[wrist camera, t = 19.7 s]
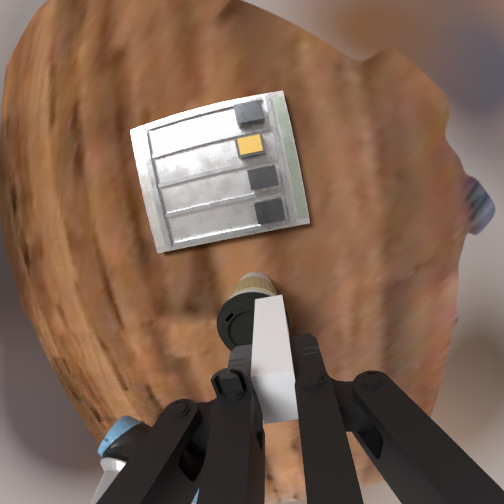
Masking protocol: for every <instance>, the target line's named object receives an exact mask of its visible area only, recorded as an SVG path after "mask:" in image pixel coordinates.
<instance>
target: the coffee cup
mask: <svg viewBox="0 0 504 504" xmlns="http://www.w3.org/2000/svg"><path fill="white" fill-rule="evenodd" d="M277 295H278V294H277V292H276V289H275V287H274V286H273V284H272V282H271V280H270V279H269V277H267V276H266V275H265V274H263V273H260V272H250V273H247V274H246V275H244V276H243V277H242V278H241V279H240V281H239V283H238V284H237V285H236V286H235V288H234V290H233V292H232V293H231V295H230V297H229V298H228V300H227V301H226V302H225V304H224V305H223V306H222V307H221V309H220V311H219V313H218V316H217V329H218V333H219V336H220V338H221V339H222V341H223V342H224V344H225V345H226V347H227V348H228V349H229V350H231V351H232V350H233V349H234V348H235V347H236V346H243V345H250V344H253V329H254V312H255V299H260V298H266V297H272V296H277ZM285 314H286V319H287V325H288V330H289V317H288V313H287V311H286V309H285Z"/></svg>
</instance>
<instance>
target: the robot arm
mask: <svg viewBox="0 0 504 504" xmlns="http://www.w3.org/2000/svg"><path fill="white" fill-rule="evenodd" d="M211 382H212V385H213V387H214V390H215V392H216V395H217V398H216V399H214V400H212V401H210V402H207V403H195V402H194V401H192V400H189V399H180V400H176V401H174V402H172V403H170V404H169V405H168V406H167V407H166V408H165V410H164V411H163V413H162V414H161V415H160V417H159V418H158V420H157V421H156V422H155V424H154V425H153V427H151V426H149V425H147V424H145V423H144V422H143V421H139V420H137V419H134V418H132V417H130V416H122V417H120V418H119V419H118V420H117V421H116V422H115V423H114V425H113V426H112V427H111V429H110V430H109V431H108V433H107V434H106V437H105V438H104V440H103V441H102V442H101V444H100V446H99V449H98V453H99V454H100V455H101V456H102V459H101V466H102V468H103V470H104V474H103V477H102V479H101V481H100V483H99V486H98V488H97V490H96V492H95V495H94V497H93V499H92V501H91V504H191V503H196V504H264V497H265V433H264V429H263V421H264V424H266V423H274V422H282V421H289V420H295V419H298V420H299V428H300V437H301V446H302V455H303V464H304V474H305V484H306V494H307V504H363V499H362V495H361V490H360V486H359V482H358V478H357V474H356V470H355V466H354V462H353V458H352V454H351V450H350V446H349V443H348V439H347V435H346V431H349V432H352V433H353V434H354V436H355V437H356V439H357V440H358V442H359V443H360V445H361V446H362V448H363V449H364V450H365V452H366V453H367V455H368V456H369V458H370V459H371V461H372V462H373V463H374V465H375V466H376V468H377V469H378V471H379V472H380V473H381V475H382V476H383V478H384V479H385V481H386V482H387V483H388V485H389V486H390V488H391V489H392V490H393V492H394V493H395V495H396V496H397V498H398V499H399V500H400V502H401V503H402V504H504V491H503V490H502V489H501V488H500V487H499V485H497V484H496V483H495V481H493V480H492V478H490V476H488V475H487V474H486V473H485V472H484V471H483V470H482V469H481V468H480V467H479V466H478V465H477V464H476V463H475V462H474V461H473V460H472V459H471V458H470V457H469V456H468V455H467V454H466V453H465V452H464V451H463V450H462V449H461V448H460V447H459V446H458V445H457V444H456V443H455V442H454V441H453V440H452V439H451V438H450V437H449V436H448V435H447V434H446V433H445V432H444V431H443V430H442V429H441V428H440V427H439V426H438V425H437V424H436V423H435V422H434V421H433V420H432V419H431V418H430V417H429V416H428V415H427V414H426V413H425V412H424V411H423V410H422V409H421V408H420V407H419V406H418V405H417V404H416V403H415V402H414V401H413V400H412V399H411V398H409V397H408V396H407V395H406V394H405V393H404V392H403V391H402V390H401V389H400V388H399V387H398V386H397V385H396V384H395V383H394V382H393V381H392V380H391V379H390V378H389V377H388V376H387V375H386V374H384V373H382V372H380V371H366V372H363V373H361V374H359V375H358V376H356V378H355V379H354V380H353V381H352V382H344V381H337V380H334V379H332V378H331V377H330V376H329V375H328V374H327V372H326V369H325V366H324V362H323V359H322V355H321V352H320V349H319V346H318V342H317V339H316V338H315V337H314V336H313V335H311V334H305V335H299V336H294V337H289V331H288V325H287V319H286V314H285V308H284V302H283V297H282V295H277V296H272V297H266V298H260V299H255V312H254V329H253V344H250V345H243V346H236V347H235V348H234V349H233V350H232V352H231V353H230V357H229V363H228V368H225V369H222V370H220V371H218V372H217V373H215V374H214V375H213V377H212V379H211Z"/></svg>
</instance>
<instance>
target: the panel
mask: <svg viewBox="0 0 504 504" xmlns="http://www.w3.org/2000/svg"><path fill="white" fill-rule="evenodd" d="M130 132H131V138H132V144H133V149H134V155H135V160H136V165H137V170H138V175H139V180H140V184H141V189H142V193H143V198H144V202H145V206H146V211H147V215H148V219H149V223H150V227H151V231H152V234H153V238H154V242H155V246H156V249H157V253H162V252H166V251H171V250H176V249H181V248H186V247H191V246H196V245H200V244H205V243H210V242H215V241H220V240H225V239H230V238H235V237H241V236H246V235H251V234H256V233H261V232H266V231H272V230H277V229H282V228H287V227H293V226H298V225H303V224H309V223H310V220H309V214H308V208H307V202H306V197H305V191H304V186H303V180H302V175H301V170H300V165H299V160H298V155H297V150H296V146H295V141H294V136H293V132H292V127H291V123H290V119H289V114H288V110H287V106H286V102H285V98H284V94H283V91H277V92H271V93H265V94H260V95H254V96H249V97H244V98H239V99H234V100H230V101H225V102H221V103H217V104H213V105H209V106H205V107H201V108H197V109H194V110H190V111H187V112H183V113H180V114H176V115H173V116H170V117H167V118H164V119H161V120H158V121H155V122H152V123H149V124H146V125H143V126H140V127H137V128H135V129H132V130H130ZM259 132H262V134H263V139H264V144H265V148H266V154H265V155H260V156H255V157H250V158H245V159H239V158H238V154H237V149H236V145H235V140H234V138H235V137H240V136H244V135H249V134H254V133H259Z"/></svg>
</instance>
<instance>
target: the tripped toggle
mask: <svg viewBox="0 0 504 504" xmlns="http://www.w3.org/2000/svg"><path fill="white" fill-rule="evenodd" d="M234 140H235V145H236V149H237V154H238V158H239V159H245V158H250V157H255V156H260V155H265V154H266V148H265V144H264V139H263V134H262V132H259V133H254V134H249V135H244V136H240V137H235V138H234Z"/></svg>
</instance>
